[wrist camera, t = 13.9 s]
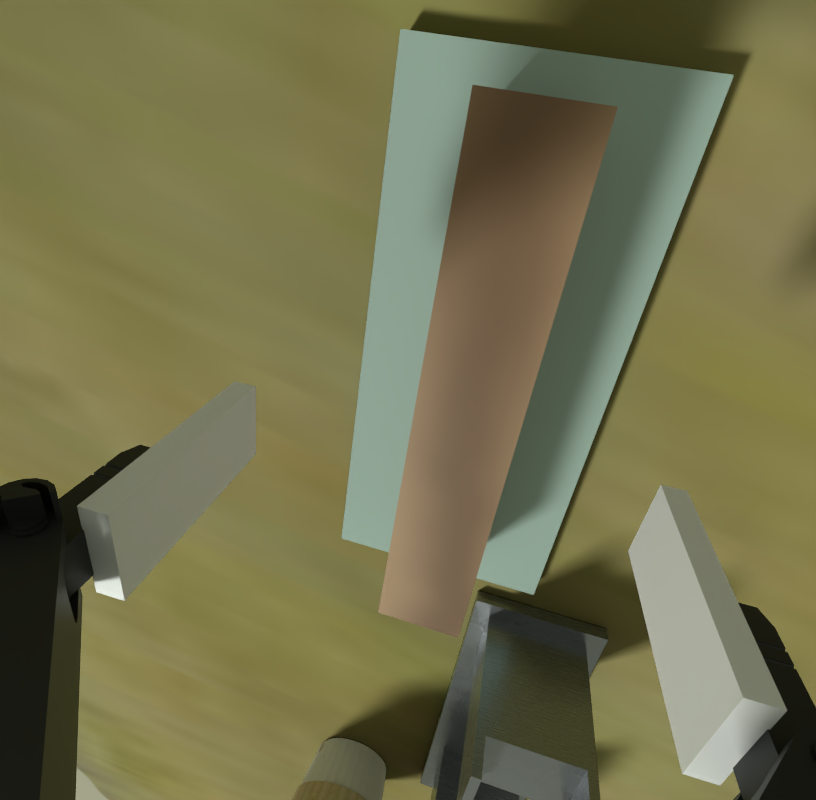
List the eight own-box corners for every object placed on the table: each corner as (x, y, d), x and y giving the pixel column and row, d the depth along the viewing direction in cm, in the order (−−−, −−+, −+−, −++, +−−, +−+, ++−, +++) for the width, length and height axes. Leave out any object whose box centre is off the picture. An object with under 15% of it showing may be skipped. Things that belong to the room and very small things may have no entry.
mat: (347, 527, 32) (341, 538, 31) (406, 34, 20) (400, 28, 19) (533, 582, 30) (533, 595, 29) (724, 78, 18) (733, 74, 17)
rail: (407, 531, 29) (378, 612, 24) (491, 104, 19) (472, 84, 14) (473, 550, 29) (458, 637, 24) (596, 121, 19) (617, 106, 13)
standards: (422, 772, 42) (390, 935, 33) (478, 590, 31) (454, 757, 23) (516, 806, 41) (510, 984, 32) (606, 629, 30) (633, 819, 22)
